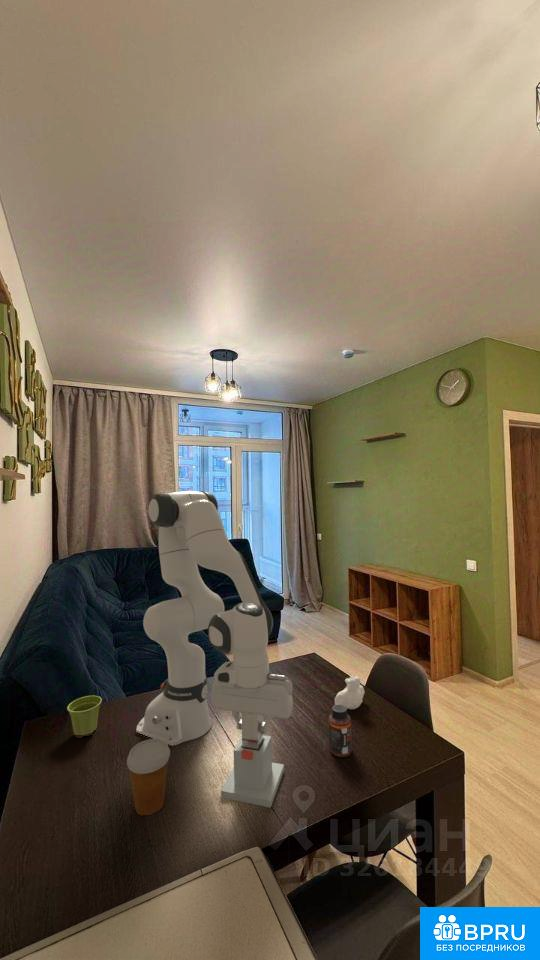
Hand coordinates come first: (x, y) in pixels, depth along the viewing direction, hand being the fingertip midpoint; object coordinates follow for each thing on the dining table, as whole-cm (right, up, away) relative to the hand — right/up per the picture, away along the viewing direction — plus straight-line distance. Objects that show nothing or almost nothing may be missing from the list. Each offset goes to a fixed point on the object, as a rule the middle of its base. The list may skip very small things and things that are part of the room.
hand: (252, 730), depth 94 cm
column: (0, -11, 0) cm, 11 cm away
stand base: (0, -13, -1) cm, 13 cm away
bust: (+31, -13, +32) cm, 47 cm away
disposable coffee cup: (-23, -13, -6) cm, 27 cm away
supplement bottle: (+23, -13, +10) cm, 29 cm away
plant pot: (-51, -15, +22) cm, 58 cm away
